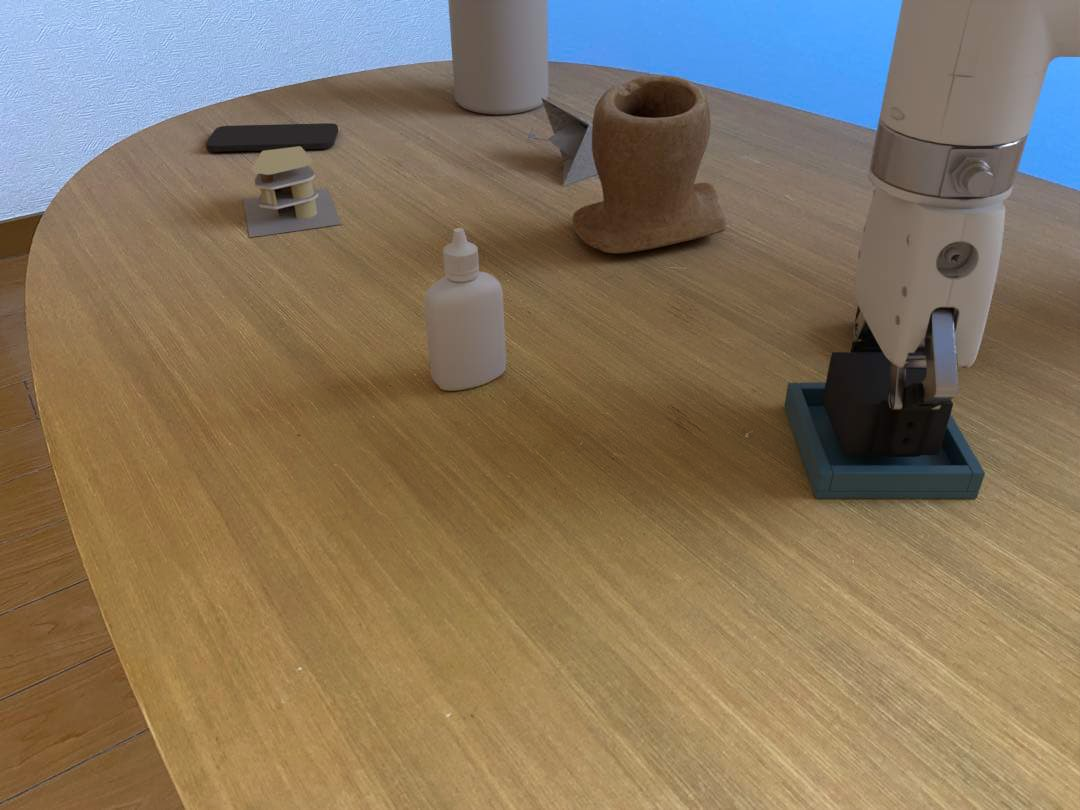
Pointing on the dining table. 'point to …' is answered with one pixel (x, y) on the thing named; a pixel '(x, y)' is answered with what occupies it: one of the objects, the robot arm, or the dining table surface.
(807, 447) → the dock
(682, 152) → the stone cup
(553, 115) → the paper boat
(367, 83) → the dining table surface
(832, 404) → the dark brown square block
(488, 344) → the eye dropper bottle
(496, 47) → the cylinder vase
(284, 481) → the dining table surface
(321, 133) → the phone
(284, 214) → the stacked layers on plate
